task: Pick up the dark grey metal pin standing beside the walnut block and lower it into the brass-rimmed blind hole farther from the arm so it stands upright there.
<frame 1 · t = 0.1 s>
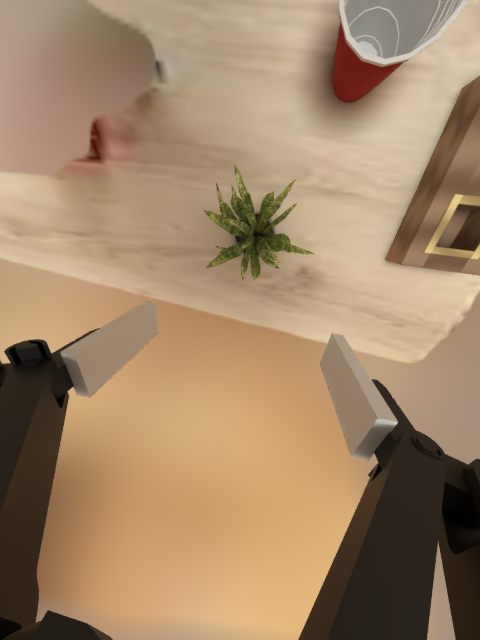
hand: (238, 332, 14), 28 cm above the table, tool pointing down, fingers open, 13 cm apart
house plant: (263, 231, 36), on the table
plastic cup: (355, 71, 26), on the table
hole block: (458, 192, 30), on the table
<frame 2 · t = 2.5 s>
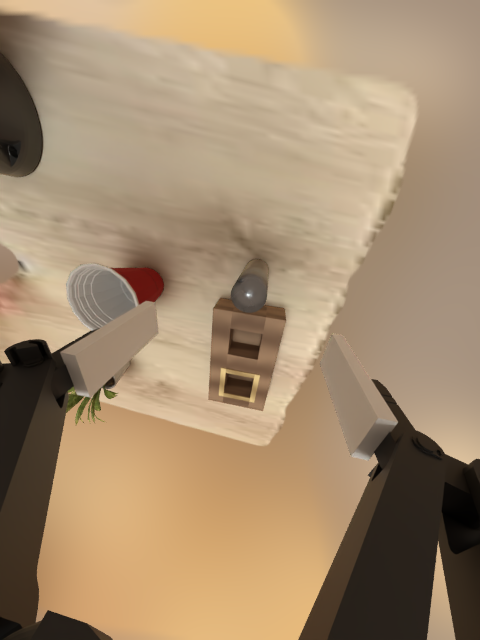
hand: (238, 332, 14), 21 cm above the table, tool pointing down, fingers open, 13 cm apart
house plant: (125, 358, 47), on the table
plastic cup: (150, 281, 37), on the table
pin: (256, 270, 33), on the table
hole block: (244, 350, 40), on the table
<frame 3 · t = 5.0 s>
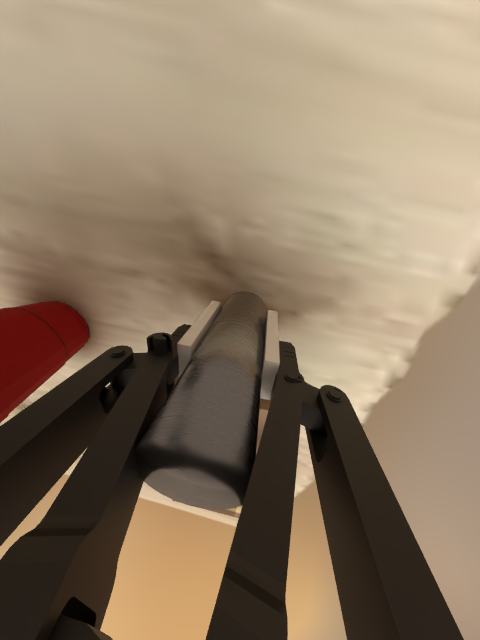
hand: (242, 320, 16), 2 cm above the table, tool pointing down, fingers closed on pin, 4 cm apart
plastic cup: (67, 321, 22), on the table
pin: (244, 312, 18), on the table, touching gripper
hole block: (228, 427, 25), on the table
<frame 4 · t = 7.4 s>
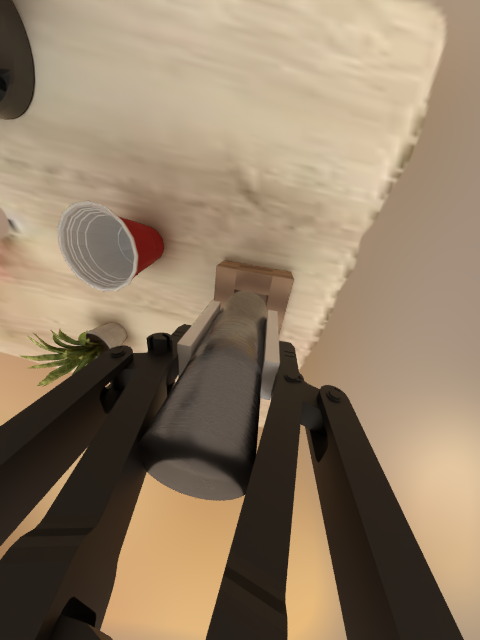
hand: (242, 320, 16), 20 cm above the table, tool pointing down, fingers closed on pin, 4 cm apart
house plant: (121, 330, 45), on the table
plastic cup: (149, 242, 35), on the table
pin: (245, 311, 18), point 18 cm above the table, touching gripper
hole block: (247, 320, 39), on the table
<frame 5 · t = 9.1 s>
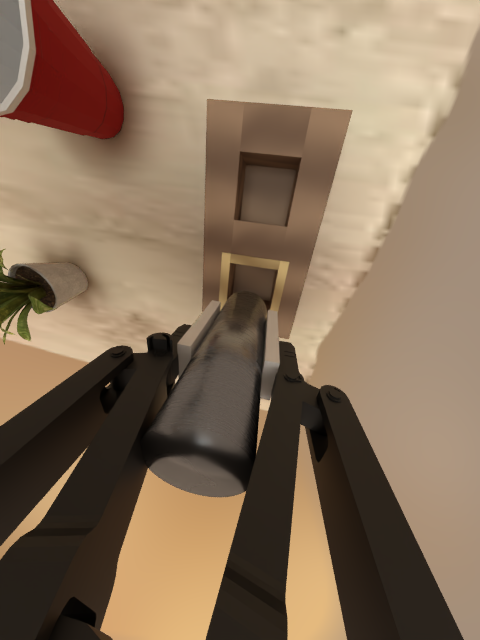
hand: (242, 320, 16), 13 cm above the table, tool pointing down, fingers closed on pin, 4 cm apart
house plant: (80, 275, 32), on the table
plastic cup: (101, 103, 21), on the table
pin: (245, 311, 18), point 11 cm above the table, touching gripper
hole block: (259, 241, 25), on the table
when the fingers open (7 cm above the table, at t = 10.2 s): pin drops 4 cm, point 1 cm above the table.
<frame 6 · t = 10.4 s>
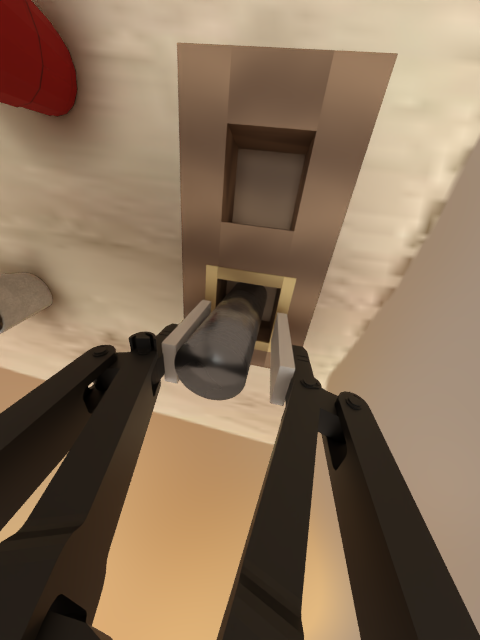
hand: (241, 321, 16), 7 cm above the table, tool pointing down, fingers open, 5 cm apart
house plant: (42, 287, 27), on the table
plastic cup: (47, 68, 16), on the table
pin: (249, 296, 22), point 1 cm above the table, touching gripper
hole block: (257, 249, 20), on the table
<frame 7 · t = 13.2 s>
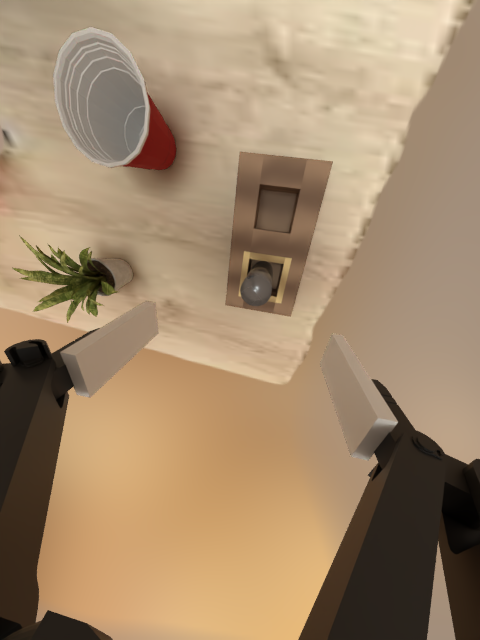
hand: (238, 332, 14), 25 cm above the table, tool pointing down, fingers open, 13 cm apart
house plant: (127, 269, 41), on the table
plastic cup: (160, 146, 30), on the table
pin: (262, 271, 36), point 1 cm above the table, touching hole block
hole block: (269, 244, 34), on the table
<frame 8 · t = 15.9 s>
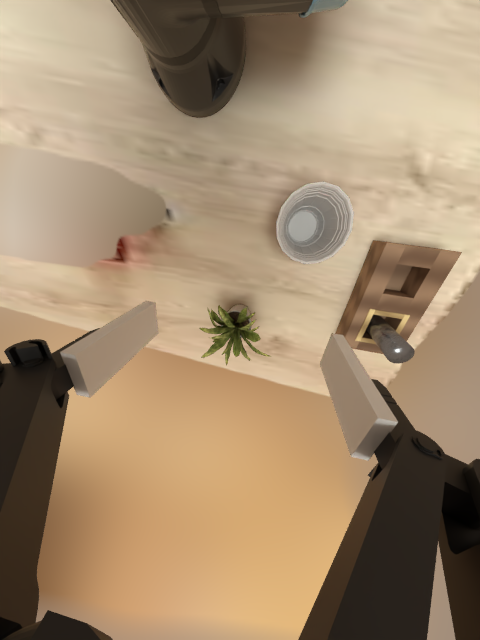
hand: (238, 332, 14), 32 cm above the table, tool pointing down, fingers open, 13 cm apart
house plant: (245, 312, 49), on the table
plastic cup: (302, 225, 38), on the table
pin: (369, 318, 44), point 1 cm above the table, touching hole block
hole block: (379, 297, 42), on the table
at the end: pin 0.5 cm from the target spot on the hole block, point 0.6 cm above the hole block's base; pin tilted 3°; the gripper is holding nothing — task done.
